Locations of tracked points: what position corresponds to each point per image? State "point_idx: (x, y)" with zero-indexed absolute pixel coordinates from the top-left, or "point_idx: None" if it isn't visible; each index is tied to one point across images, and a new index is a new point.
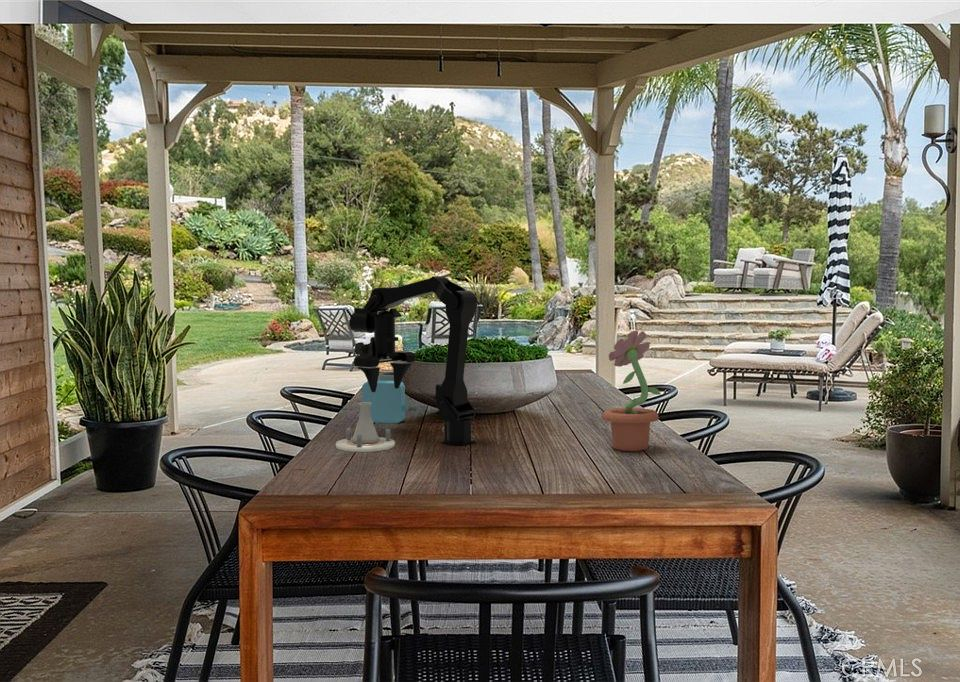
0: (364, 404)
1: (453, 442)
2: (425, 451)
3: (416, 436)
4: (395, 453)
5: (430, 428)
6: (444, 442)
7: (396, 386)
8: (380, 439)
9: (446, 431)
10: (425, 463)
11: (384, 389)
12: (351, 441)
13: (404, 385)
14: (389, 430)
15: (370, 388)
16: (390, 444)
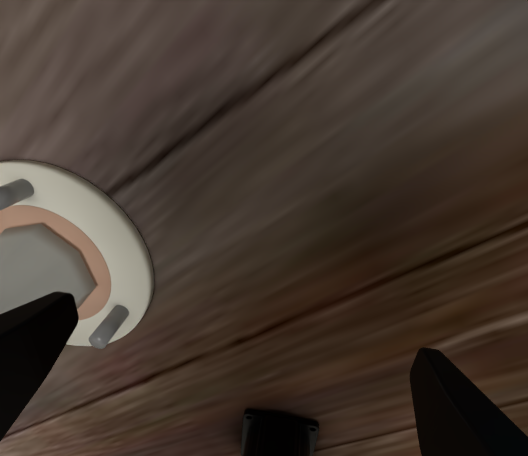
0: None
1: (243, 442)
2: (135, 412)
3: (298, 311)
4: (65, 369)
5: (497, 278)
6: (243, 418)
7: (420, 383)
8: (109, 287)
9: (256, 448)
10: (54, 446)
11: None
12: (9, 223)
13: None
14: (100, 344)
15: (18, 308)
16: (86, 344)
